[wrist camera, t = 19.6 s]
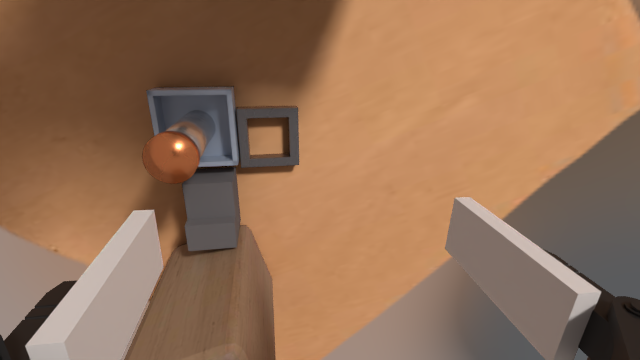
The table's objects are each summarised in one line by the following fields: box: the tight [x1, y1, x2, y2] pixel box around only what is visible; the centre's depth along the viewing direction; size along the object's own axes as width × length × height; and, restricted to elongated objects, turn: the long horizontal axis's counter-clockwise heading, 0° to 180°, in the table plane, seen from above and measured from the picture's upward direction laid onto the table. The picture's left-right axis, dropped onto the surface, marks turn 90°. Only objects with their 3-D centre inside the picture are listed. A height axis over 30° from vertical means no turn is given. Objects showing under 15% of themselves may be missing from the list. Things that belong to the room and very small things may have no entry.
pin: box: [142, 110, 216, 184], centre depth 31 cm, size 4×4×12 cm
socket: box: [236, 106, 299, 168], centre depth 38 cm, size 7×7×2 cm
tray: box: [147, 87, 240, 167], centre depth 36 cm, size 8×8×3 cm
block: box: [124, 225, 275, 360], centre depth 35 cm, size 10×10×20 cm
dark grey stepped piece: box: [182, 167, 241, 251], centre depth 38 cm, size 7×5×6 cm
